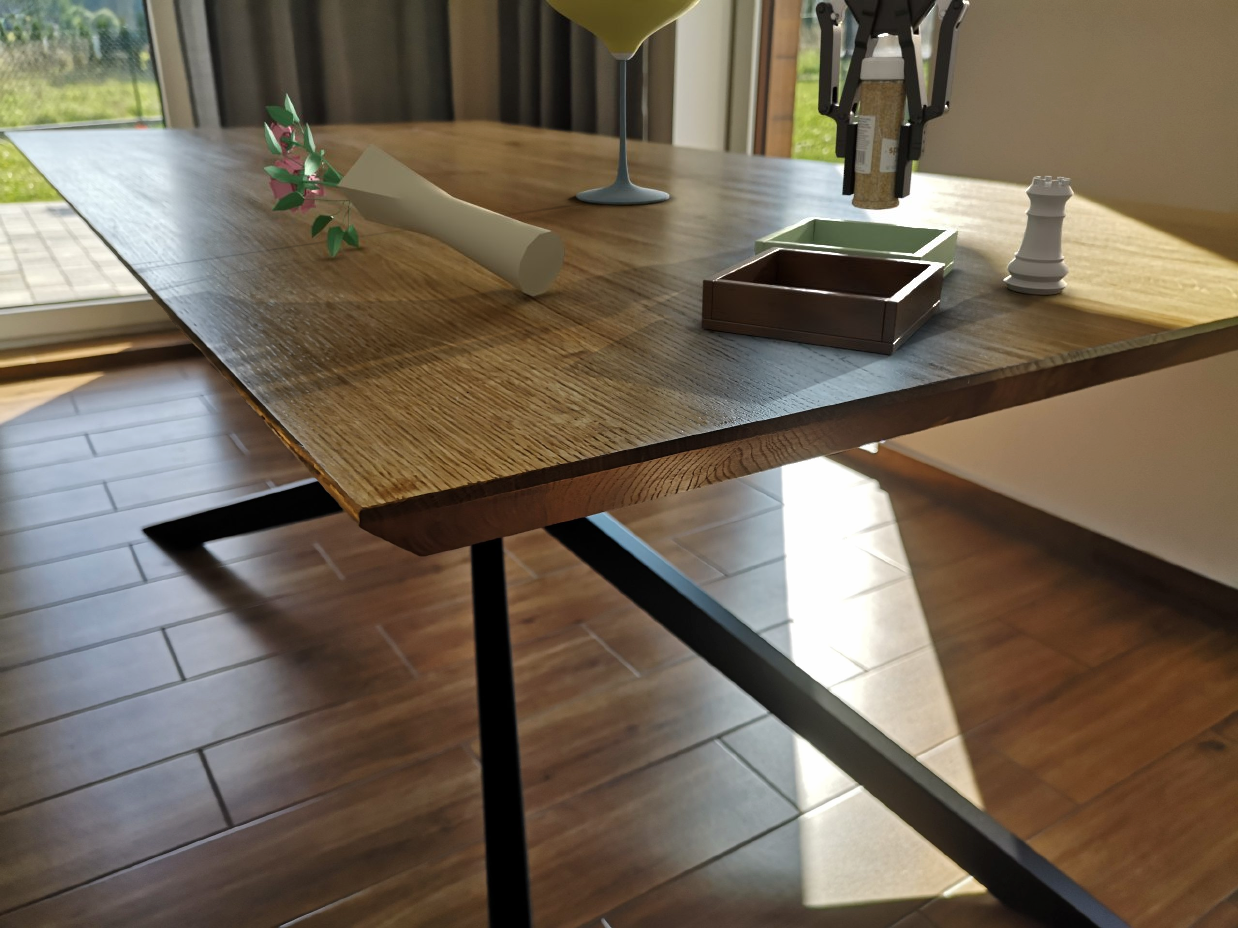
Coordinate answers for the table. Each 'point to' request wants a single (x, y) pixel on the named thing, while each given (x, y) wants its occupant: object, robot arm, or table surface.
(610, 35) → the cocktail glass
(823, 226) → the green bin
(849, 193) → the robot arm
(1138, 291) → the table surface
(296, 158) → the flower vase
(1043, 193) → the rook chess piece
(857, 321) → the walnut bin
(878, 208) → the sprinkles bottle
